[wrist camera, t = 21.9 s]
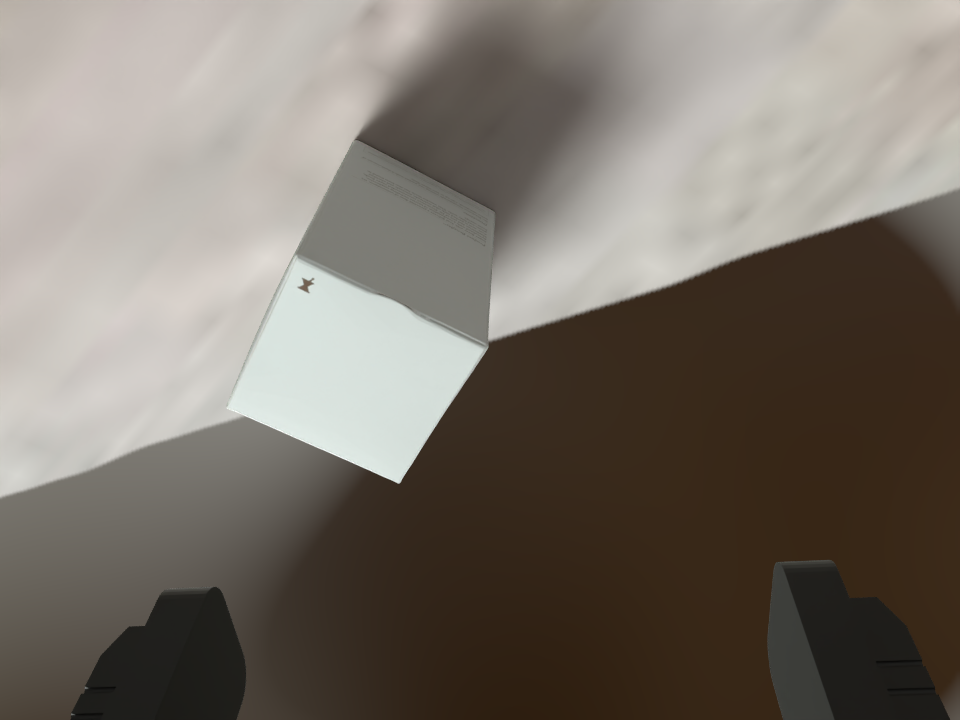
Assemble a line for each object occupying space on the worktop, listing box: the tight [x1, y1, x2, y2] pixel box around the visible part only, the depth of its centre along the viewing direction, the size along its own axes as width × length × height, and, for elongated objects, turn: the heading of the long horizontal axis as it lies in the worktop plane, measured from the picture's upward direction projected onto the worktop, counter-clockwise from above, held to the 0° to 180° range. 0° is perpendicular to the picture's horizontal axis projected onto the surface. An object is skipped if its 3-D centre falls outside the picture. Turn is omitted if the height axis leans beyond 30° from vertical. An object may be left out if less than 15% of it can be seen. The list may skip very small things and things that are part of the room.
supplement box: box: [226, 140, 496, 483], centre depth 45 cm, size 9×9×15 cm
